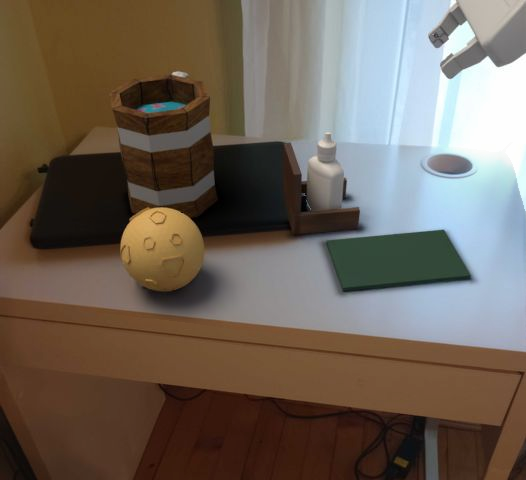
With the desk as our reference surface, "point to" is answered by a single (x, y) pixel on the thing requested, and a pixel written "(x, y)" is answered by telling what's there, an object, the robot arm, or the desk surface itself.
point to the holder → (292, 194)
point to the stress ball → (162, 249)
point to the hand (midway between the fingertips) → (437, 56)
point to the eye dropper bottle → (324, 177)
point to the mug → (166, 143)
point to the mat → (396, 260)
